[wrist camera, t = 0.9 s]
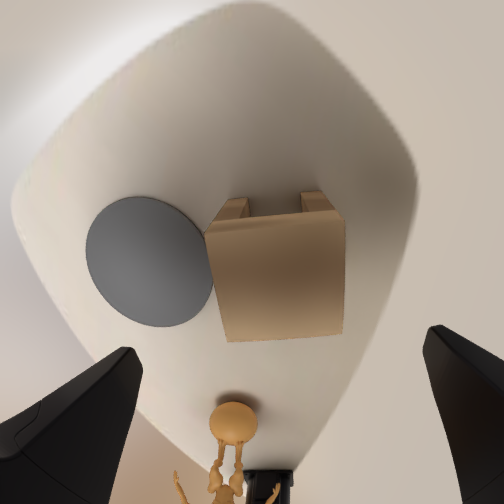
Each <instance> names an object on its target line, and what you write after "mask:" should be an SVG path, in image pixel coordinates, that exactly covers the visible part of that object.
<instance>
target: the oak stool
mask: <svg viewBox="0 0 504 504" xmlns="http://www.w3.org/2000/svg"><path fill="white" fill-rule="evenodd" d="M301 204H302V213H292V214H281V215H270V216H260V217H251V216H250V209H249V201H248V197H247V198H239V199H230V200H227V202H226V203H225V204H224V206H223V207H222V209H221V210H220V211H219V213H218V214H217V216H216V217H215V219H214V220H213V221H212V223H211V224H210V226H209V227H208V229H207V230H206V231H205V233H204V238H205V243H206V248H207V253H208V258H209V263H210V268H211V273H212V277H213V282H214V287H215V291H216V296H217V300H218V305H219V309H220V314H221V318H222V322H223V327H224V331H225V335H226V339H227V342H245V341H265V340H281V339H295V338H306V337H317V336H327V335H336V334H342V329H343V313H344V290H345V220H344V219H343V218H342V217H341V215H340V214H339V213H338V211H337V210H336V209H335V208H334V206H333V205H332V204H331V203H330V201H329V200H328V199H327V198H326V196H325V195H324V194H323V193H322V191H310V192H301Z"/></svg>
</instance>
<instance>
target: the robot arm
mask: <svg viewBox="0 0 504 504" xmlns="http://www.w3.org/2000/svg"><path fill="white" fill-rule="evenodd" d="M423 357H424V360H425V364H426V367H427V371H428V375H429V379H430V383H431V387H432V391H433V395H434V398H435V401H436V404H437V407H438V410H439V413H440V416H441V419H442V422H443V425H444V429H445V432H446V435H447V439H448V442H449V446H450V449H451V453H452V457H453V461H454V465H455V469H456V473H457V478H458V482H459V487H460V492H461V497H462V502H463V504H504V361H503V360H502V359H500V358H498V357H497V356H495V355H493V354H492V353H490V352H488V351H486V350H485V349H483V348H481V347H480V346H478V345H476V344H474V343H473V342H471V341H469V340H467V339H466V338H464V337H462V336H460V335H459V334H457V333H455V332H454V331H452V330H450V329H448V328H446V327H445V326H443V325H436V326H431V327H430V328H429V329H428V331H427V335H426V339H425V342H424V345H423ZM142 374H143V367H142V364H141V362H140V360H139V358H138V356H137V354H136V351H135V350H134V349H133V348H132V347H120V348H118V349H117V350H115V351H114V352H112V353H111V354H109V355H108V356H106V357H105V358H103V359H102V360H100V361H99V362H97V363H96V364H94V365H93V366H91V367H90V368H88V369H87V370H85V371H84V372H82V373H81V374H79V375H78V376H76V377H75V378H73V379H72V380H70V381H69V382H68V383H66V384H64V385H63V386H61V387H60V388H58V389H57V390H55V391H54V392H52V393H51V394H49V395H47V396H46V397H44V398H43V399H42V400H40V401H38V402H37V403H35V404H34V405H32V406H31V407H29V408H27V409H26V410H24V411H23V412H21V413H19V414H17V415H16V416H14V417H12V418H10V419H8V420H6V421H4V422H2V423H1V424H0V504H108V503H109V499H110V496H111V491H112V487H113V484H114V480H115V476H116V472H117V469H118V465H119V462H120V458H121V455H122V451H123V448H124V444H125V441H126V438H127V434H128V431H129V428H130V425H131V421H132V418H133V415H134V411H135V407H136V402H137V398H138V393H139V388H140V383H141V379H142ZM243 476H244V479H245V481H246V483H247V485H248V486H247V495H246V504H265V503H266V501H267V500H268V499H269V498H270V497H271V496H272V495H273V494H274V492H273V488H274V490H275V489H276V484H277V485H278V484H279V483H280V490H279V493H278V495H277V497H276V498H275V500H274V502H273V503H272V504H290V487H292V486H293V471H291V470H287V471H243Z"/></svg>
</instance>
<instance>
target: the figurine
mask: <svg viewBox="0 0 504 504" xmlns="http://www.w3.org/2000/svg"><path fill="white" fill-rule="evenodd" d="M209 425H210V430H211V432H212V434H213V435H214V437H215V438H216V439H217V440H218V444H219V450H218V459H217V460H215V461H214V465H213V466H212V467H211V471H210V474H209V478H210V484H209V486H208V492H209V493H214V492H215V491H216V497H215V500H214V501H213V502H212V504H234V501H233V495H234V494H235V495H236V496H238V497H240V496H242V494H243V488H242V484H243V480H244V476H243V471H242V468H243V464H242V463H241V455H242V447H243V445H244V443H246V442H248V441H249V440H250V439H251V438H252V437H253V436H254V435H255V433H256V430H257V425H258V423H257V418H256V415H255V413H254V412H253V411H252V409H251V408H249V407H248V406H247V405H245V404H243V403H239V402H227V403H224V404H221V405H220V406H218V407H217V408H216V409H215V410H214V411H213V412H212V414H211V417H210V421H209ZM226 445H233V446H235V447H236V456H235V459H236V463H235V464H234V467H235V468H236V471H235V473H234V474H233V475H232V476H231V477H230V479H229V486H228V485H226V484H225V485H222V483H223V476H222V475H221V474H220V472H219V468H218V467H221V466H222V464H223V462H222V461H223V457H224V451H225V446H226ZM178 479H179V477H178V478H177V472H176V471H174V483H175V486H176V490H177V492H178V494H179V495H180V498H181V502H182V504H189V503H188V502H187V499H186V497H185V495H184V492H183V490H182V488H181V486H180V485H179V483H178ZM279 490H280V483H279V484H278V485H277V484H276V489H275V490H274V488H273V492H274V494H273V495H272V496H271V497H270V498H269V499H268V500H267V501H266V503H265V504H272V503H273V502H274V500H275V498H276V497H277V495H278V493H279Z"/></svg>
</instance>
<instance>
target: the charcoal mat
mask: <svg viewBox="0 0 504 504" xmlns="http://www.w3.org/2000/svg"><path fill="white" fill-rule="evenodd" d="M86 260H87V266H88V269H89V272H90V275H91V277H92V280H93V282H94V284H95V286H96V287H97V289H98V291H99V292H100V293H101V295H102V296H103V297H104V299H105V300H106V301H107V302H108V303H109V304H110V305H111V306H112V307H113V308H114V309H116V310H117V311H118V312H120V313H121V314H122V315H124V316H126V317H127V318H129V319H131V320H133V321H136V322H138V323H141V324H144V325H148V326H153V327H171V326H176V325H179V324H182V323H184V322H186V321H188V320H190V319H192V318H193V317H194V316H196V315H197V314H198V313H199V312H200V311H201V309H202V308H203V306H204V305H205V303H206V301H207V299H208V297H209V295H210V291H211V288H212V283H213V277H212V273H211V268H210V263H209V258H208V253H207V248H206V243H205V240H204V239H203V237H202V235H201V234H200V232H199V231H198V229H197V228H196V227H195V225H194V224H193V223H192V222H191V221H190V220H189V219H188V218H187V217H186V216H184V215H183V214H182V213H181V212H180V211H178V210H177V209H175V208H173V207H172V206H170V205H168V204H166V203H164V202H161V201H158V200H155V199H151V198H146V197H132V198H126V199H122V200H119V201H117V202H115V203H113V204H111V205H109V206H108V207H106V208H105V209H104V210H102V211H101V212H100V213H99V214H98V215H97V217H96V218H95V220H94V221H93V223H92V225H91V227H90V229H89V232H88V235H87V240H86Z"/></svg>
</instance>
